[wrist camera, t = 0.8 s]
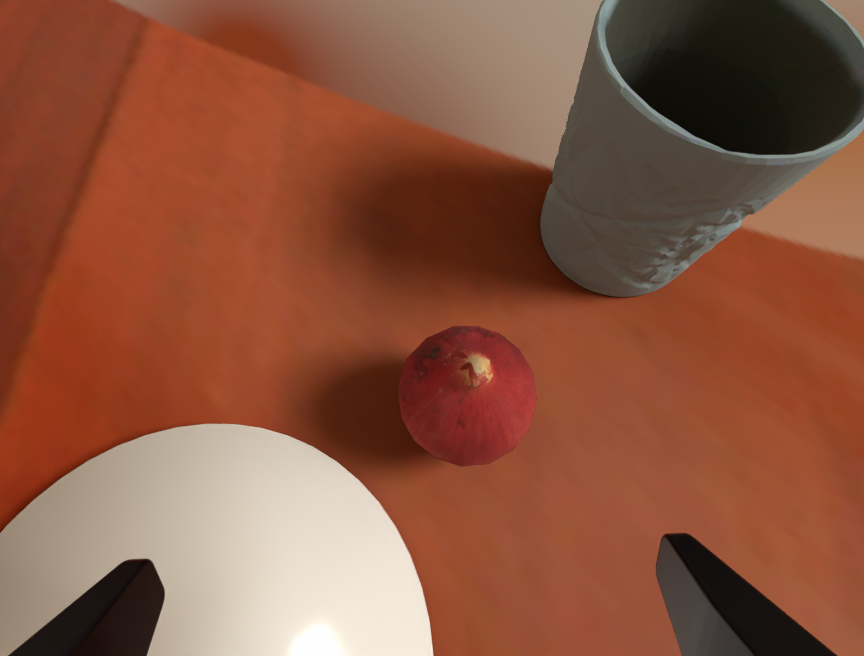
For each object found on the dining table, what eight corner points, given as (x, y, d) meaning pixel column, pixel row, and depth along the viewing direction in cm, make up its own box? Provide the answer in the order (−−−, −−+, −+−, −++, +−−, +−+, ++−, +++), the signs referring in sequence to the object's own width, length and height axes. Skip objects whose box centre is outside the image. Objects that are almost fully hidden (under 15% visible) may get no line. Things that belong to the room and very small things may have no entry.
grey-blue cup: (543, 152, 31) (608, -61, 20) (706, 183, 30) (869, -21, 19) (516, 291, 27) (579, 122, 16) (702, 331, 26) (904, 183, 15)
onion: (377, 420, 24) (356, 369, 17) (452, 338, 26) (462, 259, 19) (469, 501, 23) (491, 485, 15) (542, 408, 24) (592, 354, 17)
